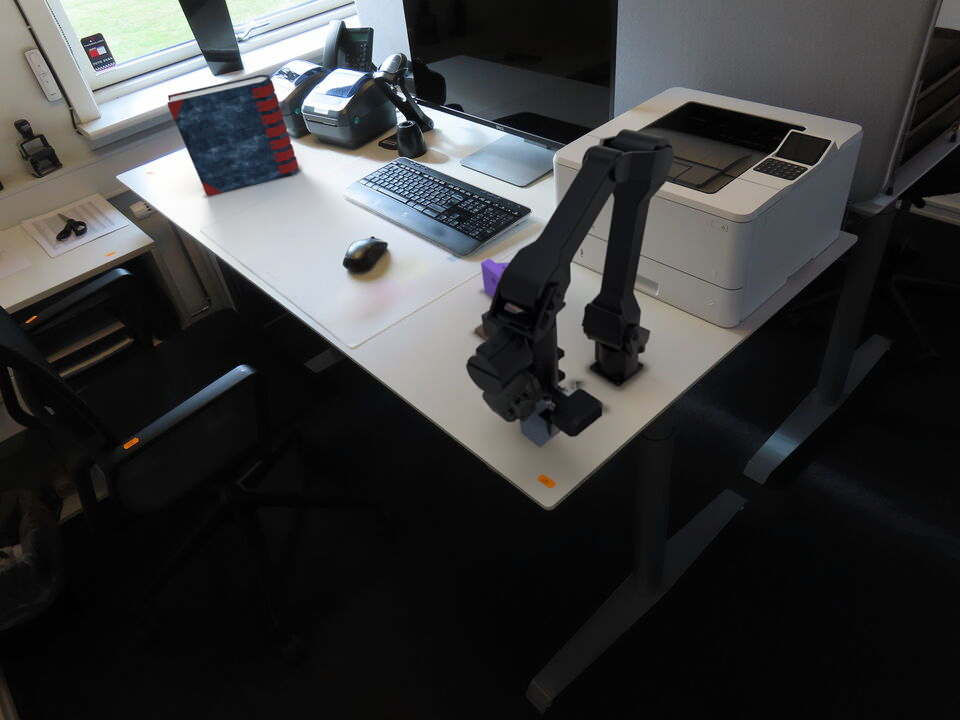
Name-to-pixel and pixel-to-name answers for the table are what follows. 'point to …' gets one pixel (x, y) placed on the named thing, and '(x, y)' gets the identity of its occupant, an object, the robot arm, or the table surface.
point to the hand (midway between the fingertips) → (541, 426)
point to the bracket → (491, 275)
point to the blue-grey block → (537, 426)
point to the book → (234, 133)
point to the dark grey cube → (490, 327)
